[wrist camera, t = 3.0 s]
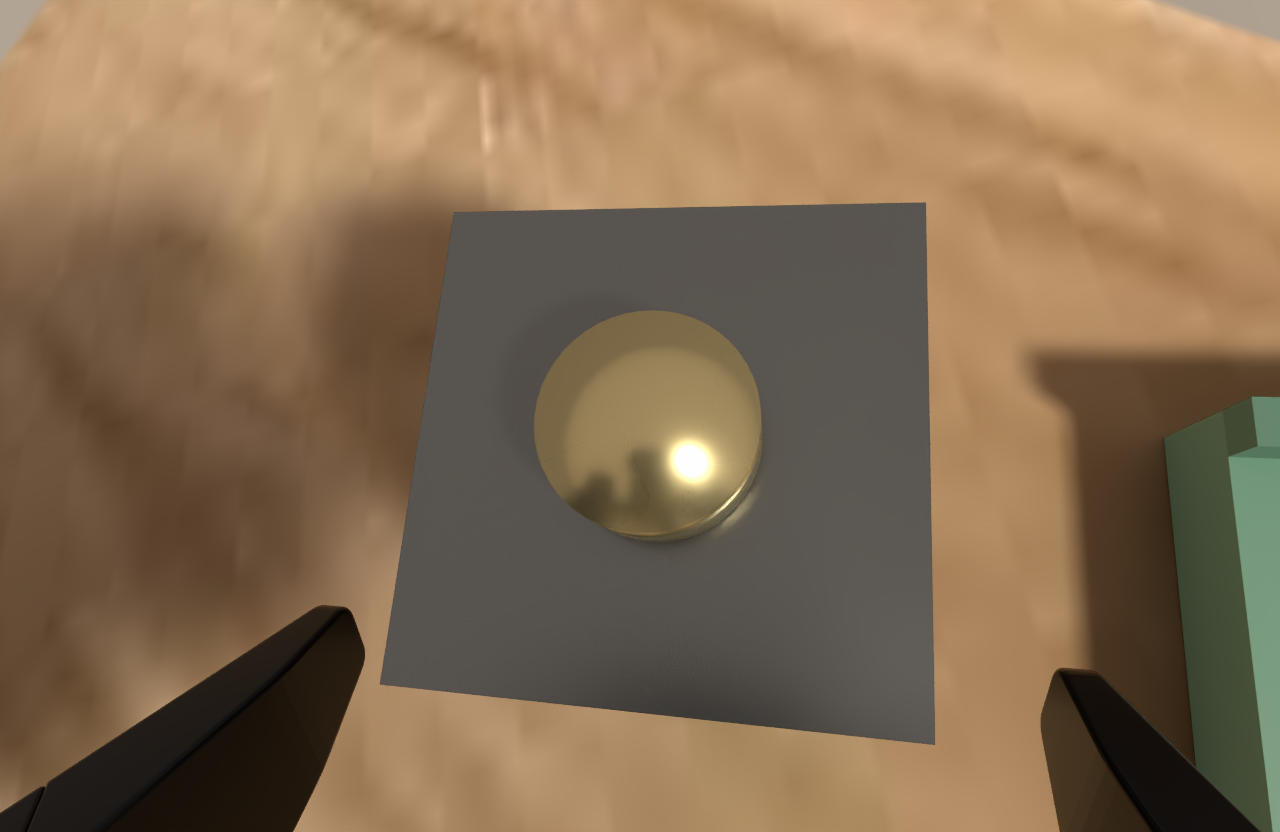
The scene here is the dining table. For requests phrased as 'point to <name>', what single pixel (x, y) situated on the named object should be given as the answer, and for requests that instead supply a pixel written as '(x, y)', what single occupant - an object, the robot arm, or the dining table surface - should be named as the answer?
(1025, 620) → the dining table surface
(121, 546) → the dining table surface
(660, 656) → the block
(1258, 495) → the coupler stand
